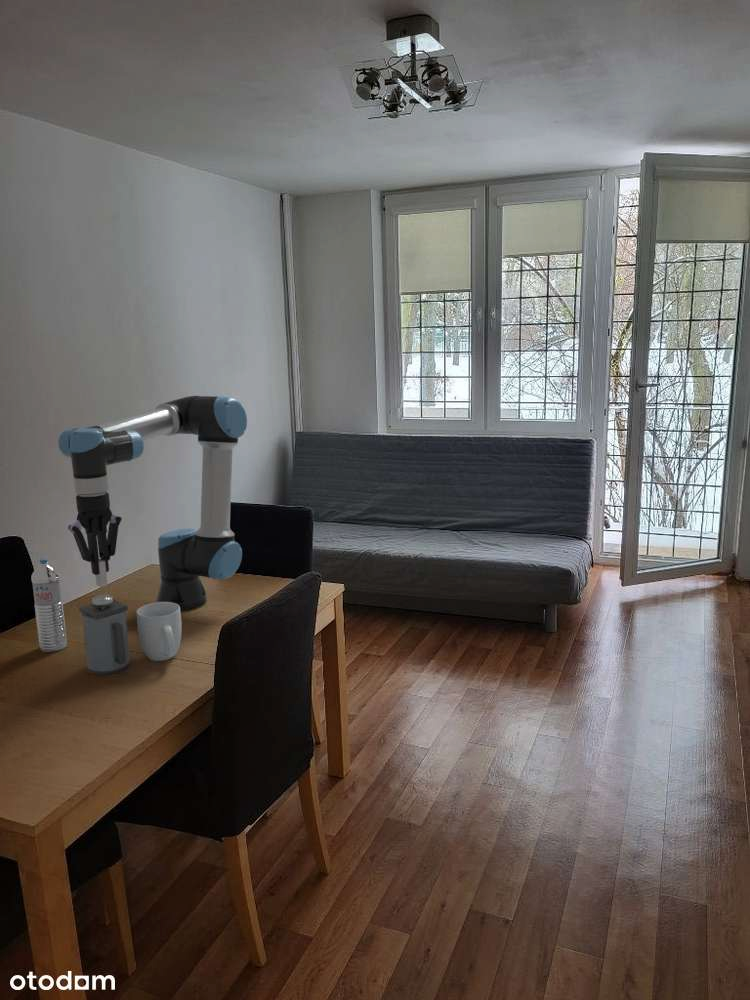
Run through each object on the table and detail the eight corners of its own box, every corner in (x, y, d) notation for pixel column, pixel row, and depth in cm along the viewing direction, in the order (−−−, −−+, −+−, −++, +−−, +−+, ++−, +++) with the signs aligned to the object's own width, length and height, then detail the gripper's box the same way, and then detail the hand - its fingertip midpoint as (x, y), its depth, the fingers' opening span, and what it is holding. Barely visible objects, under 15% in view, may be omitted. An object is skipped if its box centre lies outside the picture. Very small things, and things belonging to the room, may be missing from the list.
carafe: (116, 654, 194) (111, 596, 190) (142, 667, 186) (136, 607, 182) (80, 667, 187) (74, 607, 183) (105, 681, 179) (99, 619, 175)
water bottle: (72, 644, 200) (63, 557, 195) (52, 654, 194) (42, 564, 188) (54, 640, 203) (44, 554, 197) (34, 650, 197) (23, 561, 191)
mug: (194, 663, 188) (191, 615, 185) (152, 674, 182) (147, 625, 179) (175, 643, 200) (172, 598, 197) (134, 653, 194) (130, 607, 192)
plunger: (113, 650, 191) (107, 591, 187) (125, 656, 187) (119, 597, 183) (91, 657, 186) (85, 598, 183) (103, 664, 183) (97, 604, 179)
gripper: (109, 486, 184) (118, 575, 190) (58, 495, 175) (69, 589, 180) (125, 490, 179) (133, 581, 185) (73, 500, 170) (84, 596, 175)
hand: (102, 585), depth 183 cm, fingers closed
